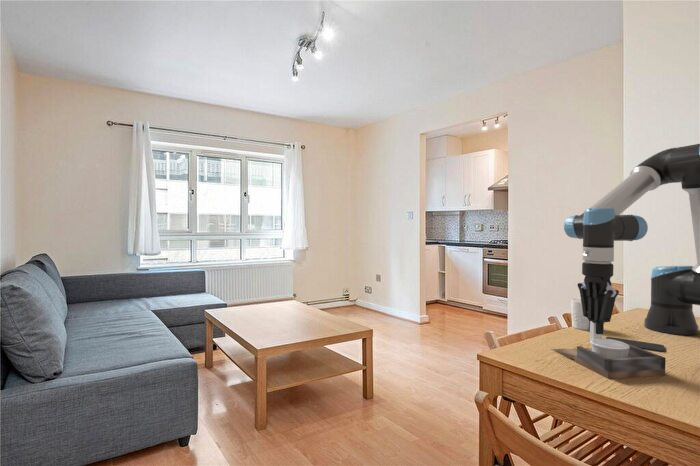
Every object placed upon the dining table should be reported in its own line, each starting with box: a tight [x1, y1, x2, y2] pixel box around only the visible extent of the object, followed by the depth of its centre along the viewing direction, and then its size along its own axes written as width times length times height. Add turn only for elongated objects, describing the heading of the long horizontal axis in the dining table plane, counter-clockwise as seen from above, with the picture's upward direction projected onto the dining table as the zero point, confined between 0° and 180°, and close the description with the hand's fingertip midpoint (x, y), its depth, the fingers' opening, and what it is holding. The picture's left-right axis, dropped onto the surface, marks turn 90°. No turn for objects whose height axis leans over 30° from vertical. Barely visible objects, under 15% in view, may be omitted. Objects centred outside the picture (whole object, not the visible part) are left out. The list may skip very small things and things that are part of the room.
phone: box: [605, 336, 666, 353], centre depth 123 cm, size 7×1×15 cm
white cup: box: [570, 298, 589, 331], centre depth 142 cm, size 8×8×10 cm
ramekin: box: [590, 337, 630, 359], centre depth 106 cm, size 9×9×4 cm
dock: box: [550, 344, 667, 379], centre depth 109 cm, size 16×22×6 cm
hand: (595, 344), depth 111 cm, fingers closed
